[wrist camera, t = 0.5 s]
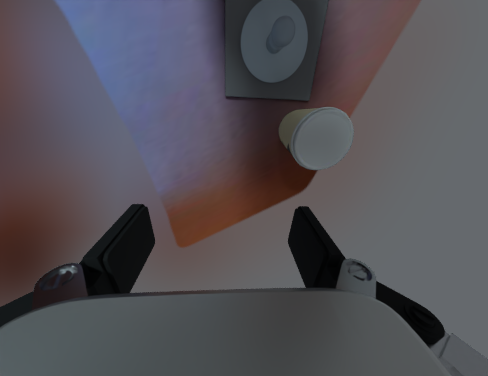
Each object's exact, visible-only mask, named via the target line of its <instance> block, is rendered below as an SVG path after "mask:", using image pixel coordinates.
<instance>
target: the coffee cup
mask: <svg viewBox="0 0 488 376" xmlns="http://www.w3.org/2000/svg"><path fill="white" fill-rule="evenodd" d="M353 136H354V130H353V125H352V123H351V120H350V119H349V117H348V116H347V114H346V113H344V112H343V111H342V110H340V109H337V108H333V107H323V108H314V109H300V110H294V111H292V112H290V113H288V114H287V115H286V116H285V117H284V118H283V120H282V121H281V123H280V126H279V137H280V140H281V142H282V143H283V144H284V146H285V147H286V148H287V149H288V151H289V152H290V153H291V154H292V156H293V157H294V159H295V160H296V161H297V163H298V164H299V165H301V166H302V167H304V168H306V169H310V170H321V169H326V168H329V167H331V166H333V165H335V164H337V163H338V162H339V161H340V160H342V158H344V156H345V155H346V154H347V152H348V151H349V149H350V147H351V144H352V141H353Z"/></svg>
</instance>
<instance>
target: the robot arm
mask: <svg viewBox="0 0 488 376" xmlns="http://www.w3.org/2000/svg"><path fill="white" fill-rule="evenodd" d="M154 244H155V238H154V233H153V229H152V224H151V220H150V216H149V212H148V208H147V207H145V206H144V205H143V204H132V205H131V206H130V207H129V208H128V209H127V211H126V212H125V213H124V214H123V215H122V216H121V217H120V218H119V219H118V220H117V221H116V222H115V224H113V226H112V227H111V228H110V229H109V230H108V231H107V232H106V233H105V234H104V235H103V236H102V238H101V239H100V240H99V241H98V242H97V243H96V244H95V245H94V246H93V247H92V248H91V249H90V250H89V251H88V252H87V254H86V255H85V256H84V257H83V260H82V261H81V262H80V263H79V264H78V263H68V264H64V265H61V266H58V267H56V268H54V269H52V270H50V271H49V272H47V273H46V274H44V275H43V276H42V277H41V278H40V279H39V280H38V281H37V283H36V284H35V286H34V290H33V292H31V293H28V294H26V295H24V296H22V297H20V298H18V299H16V300H14V301H12V302H10V303H8V304H6V305H4V306H2V307H0V376H488V359H487V358H485V357H484V356H483V355H481V354H480V353H479V352H477V351H476V350H475V349H473V348H472V347H470V346H469V345H468V344H466V343H465V342H464V341H462V340H461V339H460V338H458V337H457V336H456V335H454V334H453V333H452V334H450V335H449V334H448V333H446V332H445V330H444V327H443V325H442V324H441V322H440V321H439V320H438V319H437V318H436V317H435V315H433V314H432V313H431V312H430V311H429V310H428V309H426V308H425V307H423V306H421V305H420V304H418V303H416V302H414V301H412V300H410V299H409V298H407V297H405V296H403V295H401V294H399V293H398V292H396V291H394V290H392V289H390V288H388V287H387V286H385V285H383V284H381V283H379V282H377V281H376V276H375V274H374V272H373V271H372V270H371V268H370V267H368V266H367V265H366V264H364V263H363V262H361V261H358V260H356V259H345V257H344V256H343V254H342V253H341V251H340V250H339V249H338V247H337V246H336V245H335V243H334V242H333V240H332V239H331V238H330V236H329V235H328V233H327V232H326V231H325V230H324V228H323V227H322V226H321V224H320V223H319V221H318V220H317V218H316V217H315V215H314V214H313V213H312V211H311V210H310V209H309V207H306V206H304V207H303V206H302V207H301V206H300V207H298V209H295V212H294V216H293V221H292V225H291V229H290V233H289V238H288V244H289V247H290V249H291V252H292V254H293V257H294V259H295V262H296V264H297V267H298V269H299V272H300V274H301V277H302V279H303V282H304V284H305V287H306V288H273V289H234V290H201V291H173V292H146V293H145V292H144V293H130V291H131V289H132V287H133V285H134V283H135V282H136V279H137V278H138V276H139V274H140V272H141V270H142V268H143V266H144V264H145V262H146V260H147V258H148V256H149V255H150V253H151V251H152V249H153V247H154Z"/></svg>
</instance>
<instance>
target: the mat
mask: <svg viewBox="0 0 488 376" xmlns="http://www.w3.org/2000/svg"><path fill="white" fill-rule="evenodd" d="M260 1H262V0H225V96H232V97H251V98H270V99H288V100H307V101H309V99H310V94H311V89H312V84H313V78H314V73H315V68H316V63H317V58H318V53H319V47H320V42H321V37H322V32H323V27H324V21H325V16H326V11H327V6H328V1H329V0H291V1H292V2H293V3H295V4H296V5H297V7H298V8H299V9H300V11H301V12H302V14H303V16H304V18H305V21H306V25H307V32H308V42H307V48H306V52H305V55H304V58H303V60H302V62H301V64H300V66H299V67H298V68H297V70H296V71H295V72H294V73H293V74H292V75H291V76H289V77H288V78H286V79H284V80H282V81H279V82H275V83H267V82H263V81H261V80H259V79H257V78H256V77H254V76H253V75H252V74H251V73H250V72H249V70H248V69H247V67H246V65H245V63H244V60H243V57H242V53H241V34H242V29H243V25H244V22H245V20H246V18H247V16H248V14H249V13H250V11H251V10H252V8H253V7H254V6H255V5H256V4H258V3H259V2H260Z"/></svg>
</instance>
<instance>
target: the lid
mask: <svg viewBox="0 0 488 376" xmlns="http://www.w3.org/2000/svg"><path fill="white" fill-rule="evenodd" d="M307 42H308V32H307V25H306V21H305V18H304V16H303V14H302V12H301V11H300V9H299V8H298V7H297V5H296V4H295V3H293V2H292V1H291V0H262V1H260V2H259V3H258V4H256V5H255V6H254V7H253V8H252V10H251V11H250V13H249V14H248V16H247V18H246V20H245V22H244V25H243V29H242V34H241V53H242V57H243V60H244V63H245V65H246V67H247V69H248V70H249V72H250V73H251V74H252V75H253V76H254V77H256V78H257V79H259V80H261V81H263V82H267V83H275V82H279V81H282V80H284V79H286V78H288V77H289V76H291V75H292V74H293V73H294V72H295V71H296V70H297V68H298V67H299V66H300V64H301V62H302V60H303V58H304V55H305V52H306V48H307Z"/></svg>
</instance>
